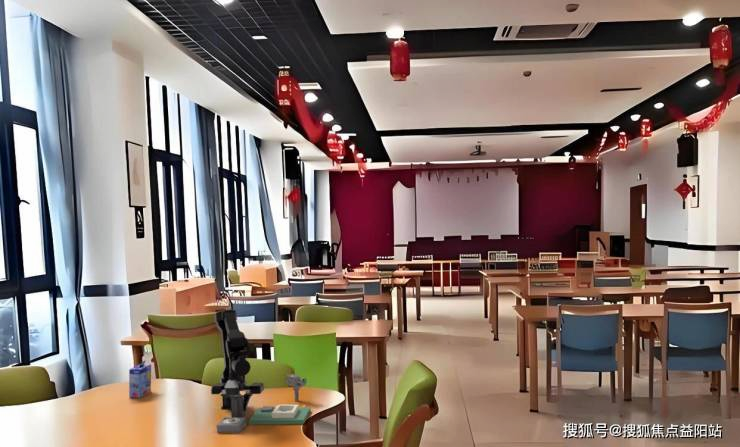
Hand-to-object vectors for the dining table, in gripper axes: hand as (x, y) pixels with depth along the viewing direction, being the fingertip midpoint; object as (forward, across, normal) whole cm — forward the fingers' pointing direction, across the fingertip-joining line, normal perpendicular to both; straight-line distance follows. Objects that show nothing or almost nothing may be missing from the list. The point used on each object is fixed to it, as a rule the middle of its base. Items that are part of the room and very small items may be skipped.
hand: (238, 411), depth 208 cm
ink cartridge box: (+3, -53, +30) cm, 61 cm away
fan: (+2, +1, -11) cm, 11 cm away
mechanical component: (+3, +18, +20) cm, 27 cm away
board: (+2, +16, 0) cm, 16 cm away
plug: (+2, 0, 0) cm, 2 cm away
